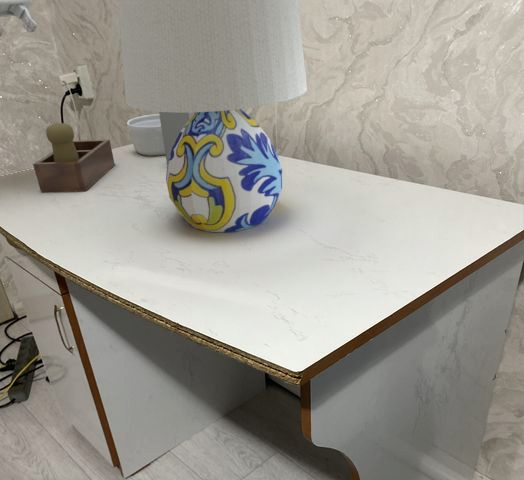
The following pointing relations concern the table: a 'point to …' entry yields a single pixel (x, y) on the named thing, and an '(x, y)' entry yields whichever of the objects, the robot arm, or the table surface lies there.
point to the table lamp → (215, 97)
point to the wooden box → (75, 168)
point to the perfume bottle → (172, 128)
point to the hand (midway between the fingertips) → (17, 31)
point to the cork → (62, 142)
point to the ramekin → (147, 135)
